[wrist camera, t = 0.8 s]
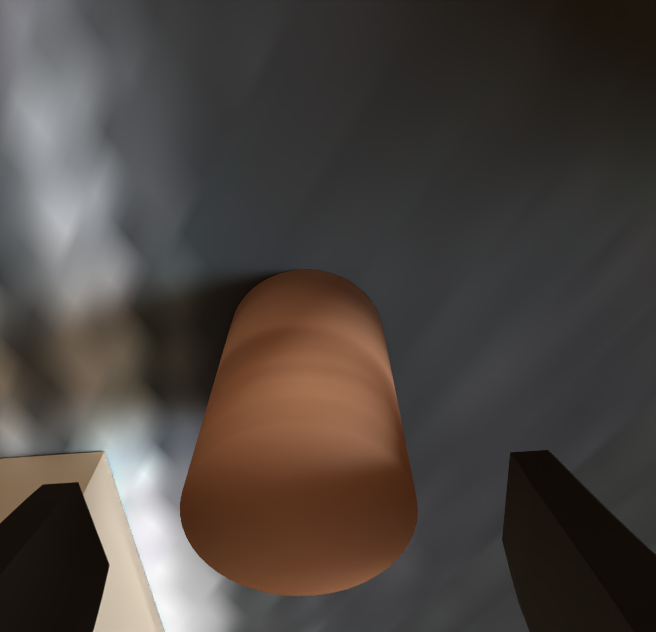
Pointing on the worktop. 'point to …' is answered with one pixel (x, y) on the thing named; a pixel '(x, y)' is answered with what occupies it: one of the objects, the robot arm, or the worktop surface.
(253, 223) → the worktop surface
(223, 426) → the peg
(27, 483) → the bore box
